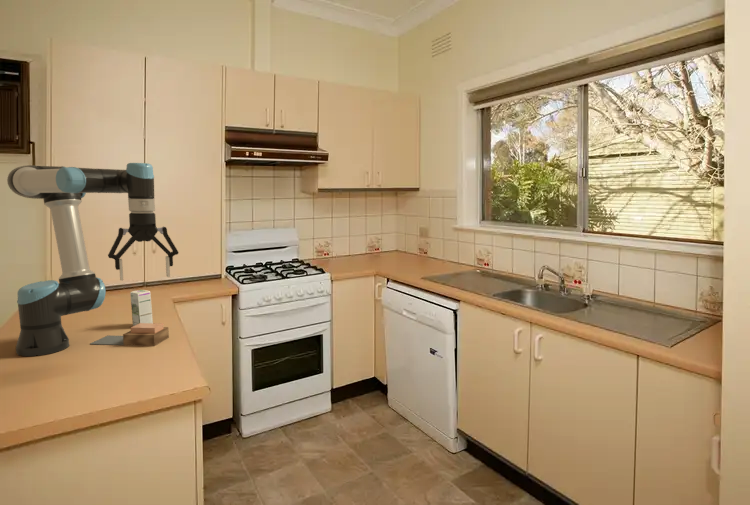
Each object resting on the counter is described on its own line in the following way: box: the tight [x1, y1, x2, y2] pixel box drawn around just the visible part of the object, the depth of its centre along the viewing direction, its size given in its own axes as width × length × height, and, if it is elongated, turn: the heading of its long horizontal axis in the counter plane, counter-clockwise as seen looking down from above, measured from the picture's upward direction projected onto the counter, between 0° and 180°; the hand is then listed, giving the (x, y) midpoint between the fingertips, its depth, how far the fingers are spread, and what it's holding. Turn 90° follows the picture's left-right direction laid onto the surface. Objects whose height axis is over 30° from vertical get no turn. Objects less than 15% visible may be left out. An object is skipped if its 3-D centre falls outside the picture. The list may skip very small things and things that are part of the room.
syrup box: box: [129, 289, 154, 327], centre depth 192 cm, size 6×6×14 cm
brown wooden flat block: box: [122, 326, 170, 347], centre depth 172 cm, size 12×10×4 cm
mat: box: [89, 334, 125, 346], centre depth 173 cm, size 13×10×1 cm
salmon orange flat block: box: [130, 322, 165, 333], centre depth 171 cm, size 9×6×2 cm, turn 86°
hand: (145, 278), depth 151 cm, fingers open, 13 cm apart
